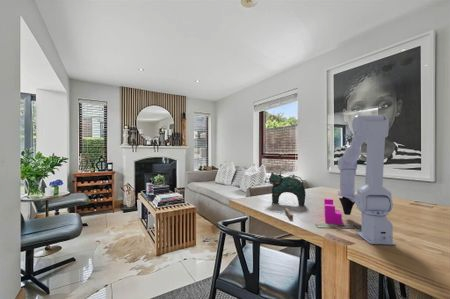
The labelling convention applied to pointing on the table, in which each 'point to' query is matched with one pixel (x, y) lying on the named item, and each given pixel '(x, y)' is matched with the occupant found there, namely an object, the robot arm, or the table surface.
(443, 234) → the table surface
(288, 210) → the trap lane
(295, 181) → the ceramic cat
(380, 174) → the robot arm
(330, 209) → the toy block
